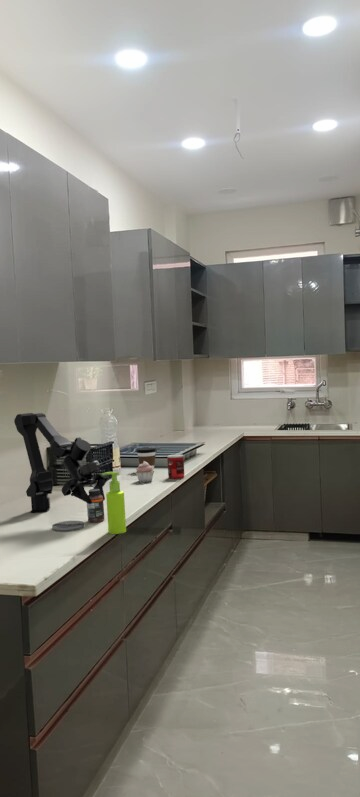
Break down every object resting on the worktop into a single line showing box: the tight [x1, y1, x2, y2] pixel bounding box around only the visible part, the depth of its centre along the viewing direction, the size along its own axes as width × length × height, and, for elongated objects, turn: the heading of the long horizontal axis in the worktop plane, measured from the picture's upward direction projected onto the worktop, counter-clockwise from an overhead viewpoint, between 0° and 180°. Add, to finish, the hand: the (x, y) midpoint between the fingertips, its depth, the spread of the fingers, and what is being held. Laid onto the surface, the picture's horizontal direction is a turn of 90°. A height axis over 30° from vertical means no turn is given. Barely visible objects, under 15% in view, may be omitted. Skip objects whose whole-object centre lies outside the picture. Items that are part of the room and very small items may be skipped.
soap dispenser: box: [102, 471, 127, 535], centre depth 203 cm, size 6×7×20 cm
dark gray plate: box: [51, 520, 85, 533], centre depth 213 cm, size 11×11×1 cm
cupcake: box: [134, 461, 155, 483], centre depth 295 cm, size 9×9×10 cm
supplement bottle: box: [86, 488, 105, 523], centre depth 220 cm, size 6×6×11 cm
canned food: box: [166, 453, 185, 480], centre depth 300 cm, size 8×8×11 cm
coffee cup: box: [135, 446, 157, 471], centre depth 325 cm, size 11×11×12 cm
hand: (97, 501), depth 219 cm, fingers closed on supplement bottle, 6 cm apart
